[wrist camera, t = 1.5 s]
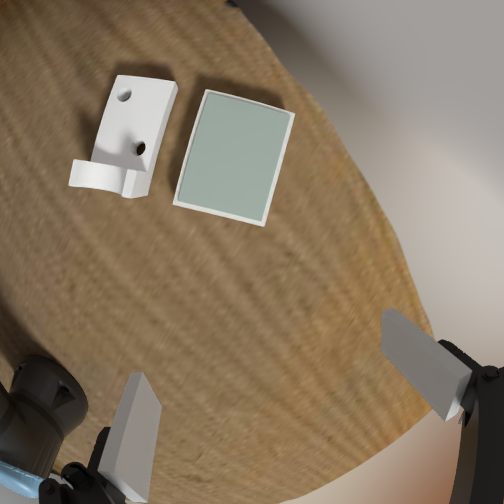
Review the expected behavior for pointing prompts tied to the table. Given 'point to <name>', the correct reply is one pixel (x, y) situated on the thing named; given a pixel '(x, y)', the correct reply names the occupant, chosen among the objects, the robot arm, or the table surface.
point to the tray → (233, 157)
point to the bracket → (128, 137)
